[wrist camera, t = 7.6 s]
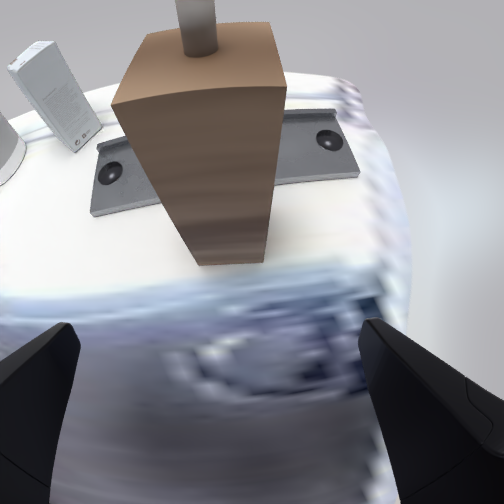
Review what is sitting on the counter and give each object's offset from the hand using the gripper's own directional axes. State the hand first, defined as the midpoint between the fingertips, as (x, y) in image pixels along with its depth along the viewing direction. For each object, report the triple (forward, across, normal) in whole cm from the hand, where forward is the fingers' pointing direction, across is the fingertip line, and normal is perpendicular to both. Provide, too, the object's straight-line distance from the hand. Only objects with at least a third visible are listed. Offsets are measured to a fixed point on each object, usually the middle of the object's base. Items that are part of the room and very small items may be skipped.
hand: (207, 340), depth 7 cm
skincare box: (+22, +17, -7) cm, 29 cm away
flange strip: (+18, +1, -3) cm, 18 cm away
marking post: (+13, 0, +2) cm, 13 cm away
